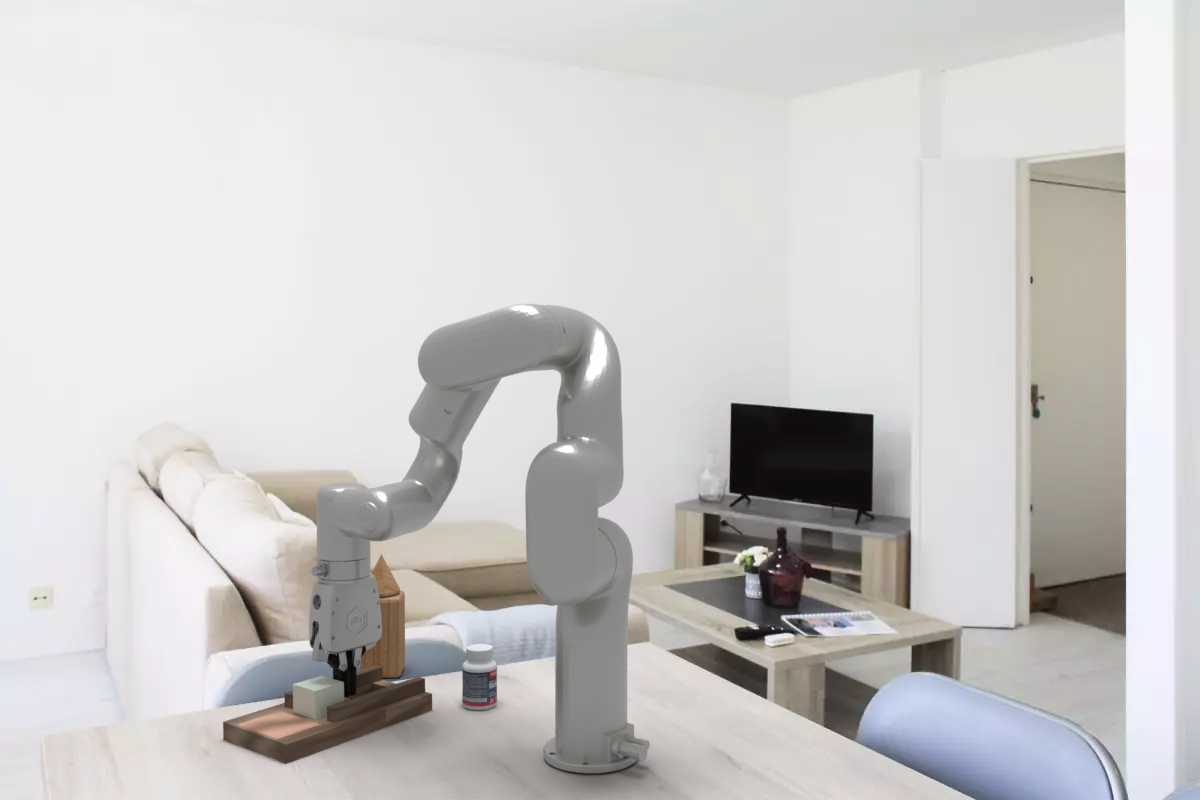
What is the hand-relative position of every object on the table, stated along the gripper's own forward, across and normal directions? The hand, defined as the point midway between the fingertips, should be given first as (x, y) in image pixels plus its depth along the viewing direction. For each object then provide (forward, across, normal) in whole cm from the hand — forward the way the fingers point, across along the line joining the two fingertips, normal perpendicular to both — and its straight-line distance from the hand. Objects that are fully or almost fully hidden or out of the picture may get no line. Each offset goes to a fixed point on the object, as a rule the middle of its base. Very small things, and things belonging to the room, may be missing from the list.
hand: (344, 694), depth 156 cm
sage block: (+1, -5, 0) cm, 5 cm away
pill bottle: (+4, +17, -11) cm, 20 cm away
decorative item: (+4, +18, +13) cm, 23 cm away
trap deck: (+4, -2, 0) cm, 4 cm away
